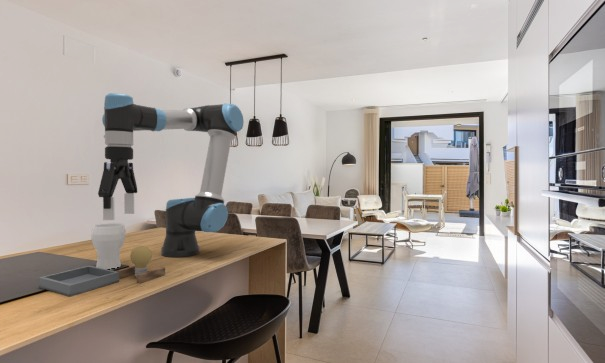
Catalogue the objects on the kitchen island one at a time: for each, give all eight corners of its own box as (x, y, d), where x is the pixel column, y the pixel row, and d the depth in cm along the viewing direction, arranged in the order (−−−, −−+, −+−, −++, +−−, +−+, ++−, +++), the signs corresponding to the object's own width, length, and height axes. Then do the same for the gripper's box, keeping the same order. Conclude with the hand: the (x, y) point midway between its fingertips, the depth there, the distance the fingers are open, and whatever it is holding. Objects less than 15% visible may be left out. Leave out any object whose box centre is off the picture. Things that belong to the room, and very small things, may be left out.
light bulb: (143, 280, 108) (143, 248, 107) (125, 278, 109) (125, 247, 109) (156, 274, 114) (156, 244, 114) (139, 273, 115) (139, 243, 115)
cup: (83, 269, 118) (84, 225, 118) (111, 261, 128) (111, 222, 128) (105, 273, 114) (105, 228, 114) (132, 265, 124) (132, 224, 124)
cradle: (143, 270, 118) (143, 263, 118) (165, 275, 114) (165, 267, 114) (116, 278, 109) (116, 270, 109) (139, 283, 105) (139, 275, 105)
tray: (89, 274, 112) (89, 265, 112) (118, 281, 106) (118, 272, 106) (39, 287, 99) (39, 277, 99) (69, 296, 93) (69, 285, 93)
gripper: (124, 148, 115) (125, 211, 116) (82, 143, 90) (83, 223, 91) (147, 148, 115) (147, 211, 116) (112, 143, 91) (113, 223, 91)
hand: (119, 216), depth 104 cm, fingers open, 13 cm apart
